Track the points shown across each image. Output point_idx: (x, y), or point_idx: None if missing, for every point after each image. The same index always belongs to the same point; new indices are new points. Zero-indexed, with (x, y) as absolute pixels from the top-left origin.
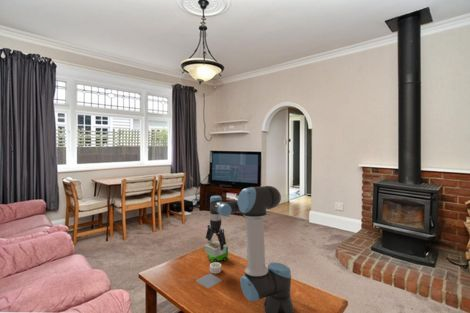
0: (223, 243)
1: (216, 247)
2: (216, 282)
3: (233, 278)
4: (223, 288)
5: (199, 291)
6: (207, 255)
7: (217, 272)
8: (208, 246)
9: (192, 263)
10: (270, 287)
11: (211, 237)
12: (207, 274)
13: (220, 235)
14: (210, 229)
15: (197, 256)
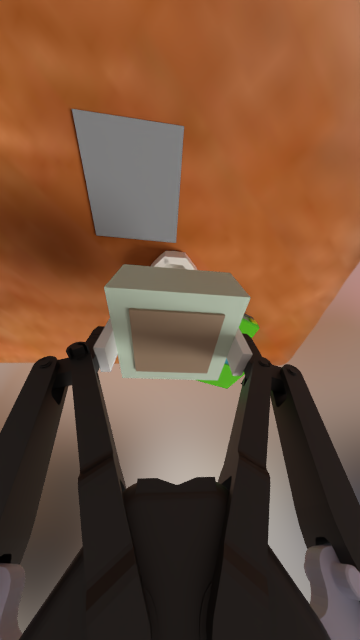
0: (30, 376)
1: (131, 323)
2: (96, 201)
3: (87, 276)
4: (38, 185)
5: (75, 27)
6: (254, 320)
7: (151, 264)
8: (205, 299)
9: (288, 256)
10: None
11: (241, 391)
12: (176, 228)
13: (10, 488)
14: (303, 506)
15: (293, 305)
